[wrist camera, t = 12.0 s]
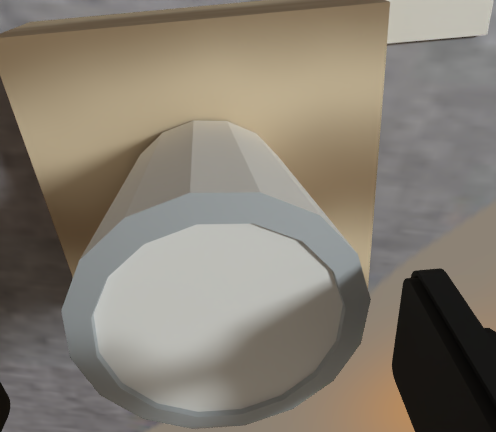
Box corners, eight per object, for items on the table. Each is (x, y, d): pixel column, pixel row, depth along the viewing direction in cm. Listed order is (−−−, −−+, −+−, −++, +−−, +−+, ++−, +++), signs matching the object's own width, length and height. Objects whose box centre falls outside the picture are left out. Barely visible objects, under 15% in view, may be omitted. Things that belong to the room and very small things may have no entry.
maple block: (35, 19, 17) (-13, 39, 13) (355, -10, 17) (390, 2, 13) (111, 272, 23) (91, 330, 19) (345, 251, 23) (366, 305, 19)
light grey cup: (75, 221, 16) (4, 375, 10) (179, 56, 14) (172, 121, 8) (231, 300, 18) (253, 462, 12) (341, 171, 16) (434, 291, 10)
